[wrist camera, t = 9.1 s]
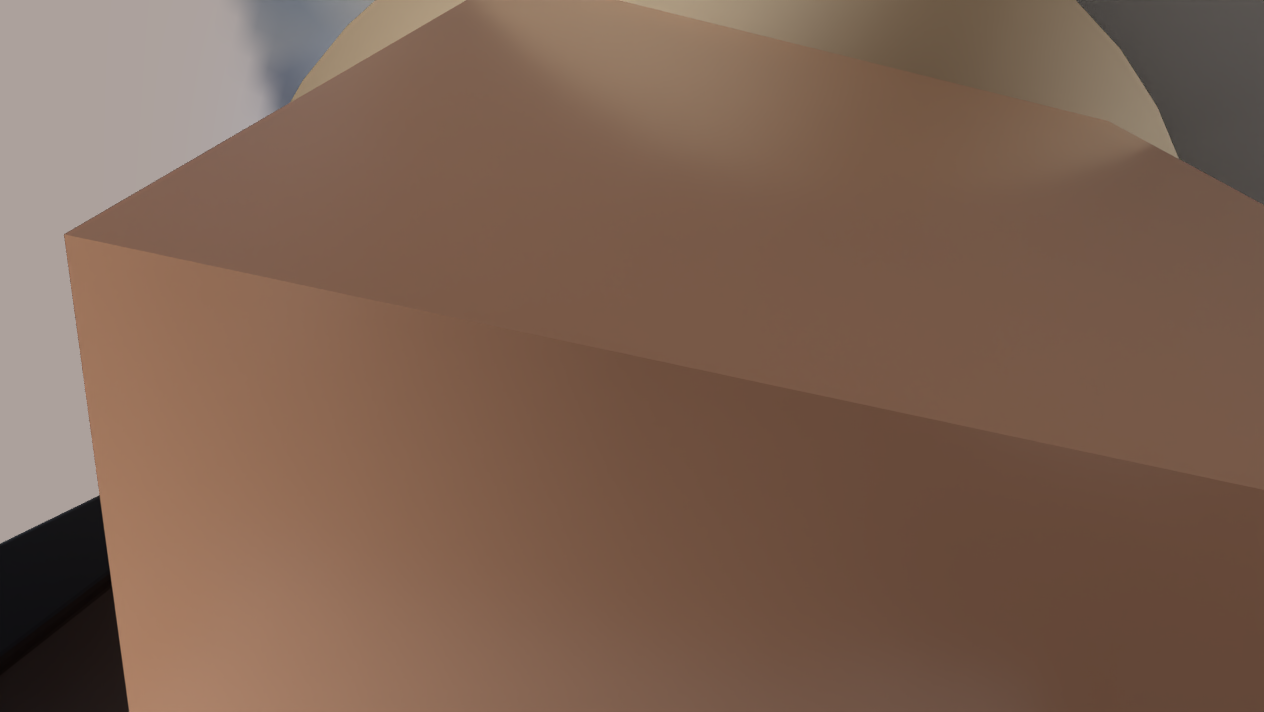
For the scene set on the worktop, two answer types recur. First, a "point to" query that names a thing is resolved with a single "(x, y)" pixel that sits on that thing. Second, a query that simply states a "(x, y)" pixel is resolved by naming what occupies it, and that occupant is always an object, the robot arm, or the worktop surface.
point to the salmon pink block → (676, 391)
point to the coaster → (882, 46)
